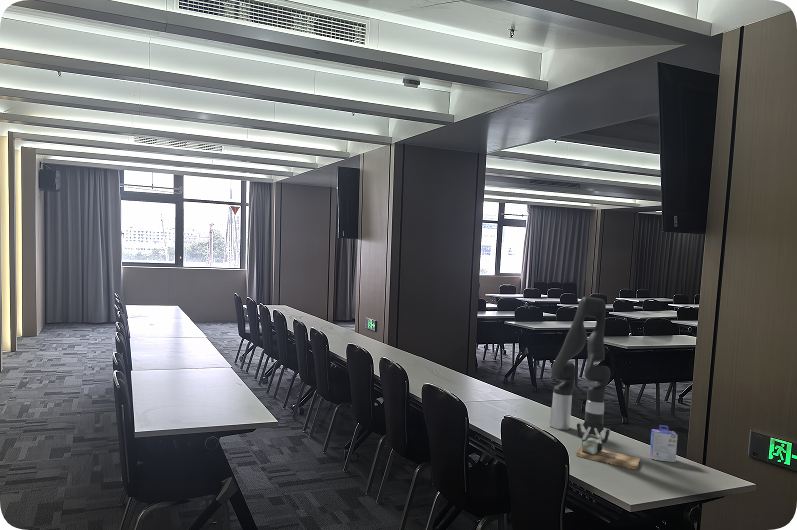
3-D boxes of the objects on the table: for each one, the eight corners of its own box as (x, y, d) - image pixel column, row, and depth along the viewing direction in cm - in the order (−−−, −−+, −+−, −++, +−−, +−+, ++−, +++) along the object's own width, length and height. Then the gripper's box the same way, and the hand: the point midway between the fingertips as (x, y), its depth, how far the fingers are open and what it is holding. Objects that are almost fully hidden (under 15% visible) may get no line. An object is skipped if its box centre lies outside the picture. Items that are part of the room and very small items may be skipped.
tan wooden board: (576, 455, 237) (576, 452, 236) (581, 448, 247) (582, 445, 247) (636, 470, 225) (636, 466, 225) (639, 461, 235) (640, 458, 235)
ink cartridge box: (672, 458, 243) (675, 426, 242) (676, 463, 237) (679, 429, 237) (648, 455, 244) (651, 423, 244) (651, 459, 239) (654, 426, 239)
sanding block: (582, 452, 237) (582, 441, 237) (589, 447, 244) (590, 437, 244) (593, 455, 234) (594, 444, 234) (601, 450, 241) (601, 440, 241)
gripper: (613, 412, 239) (610, 451, 239) (579, 406, 246) (576, 443, 246) (610, 416, 232) (607, 456, 232) (575, 409, 239) (572, 448, 239)
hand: (591, 449), depth 239 cm, fingers closed on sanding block, 5 cm apart
